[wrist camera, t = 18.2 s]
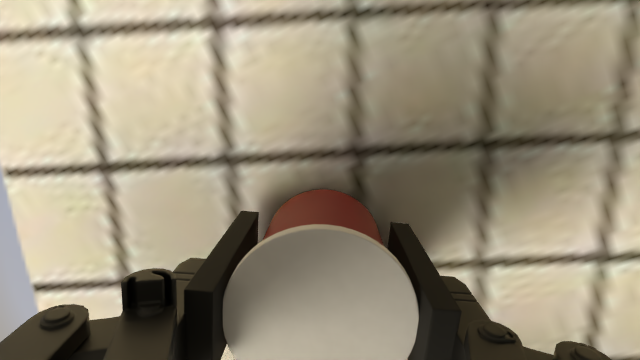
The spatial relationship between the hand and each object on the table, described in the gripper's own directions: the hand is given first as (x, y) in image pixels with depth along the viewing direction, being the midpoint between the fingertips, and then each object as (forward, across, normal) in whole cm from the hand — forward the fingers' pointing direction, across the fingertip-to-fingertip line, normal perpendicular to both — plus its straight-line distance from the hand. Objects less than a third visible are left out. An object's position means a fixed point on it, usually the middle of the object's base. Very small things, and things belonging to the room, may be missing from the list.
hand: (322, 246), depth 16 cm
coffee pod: (0, 0, 0) cm, 0 cm away
